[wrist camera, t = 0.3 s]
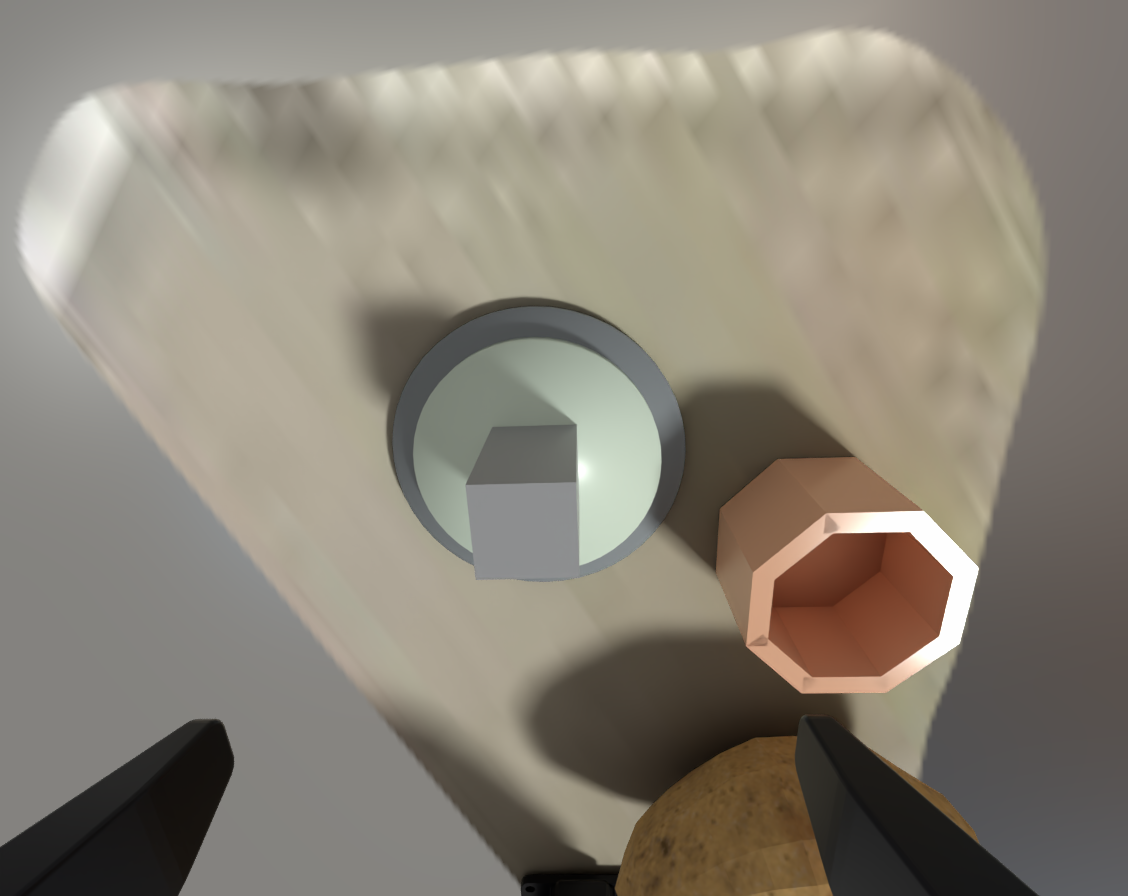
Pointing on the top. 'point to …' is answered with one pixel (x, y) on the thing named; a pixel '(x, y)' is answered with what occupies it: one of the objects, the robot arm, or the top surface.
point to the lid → (537, 457)
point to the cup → (840, 576)
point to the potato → (737, 829)
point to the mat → (560, 327)
